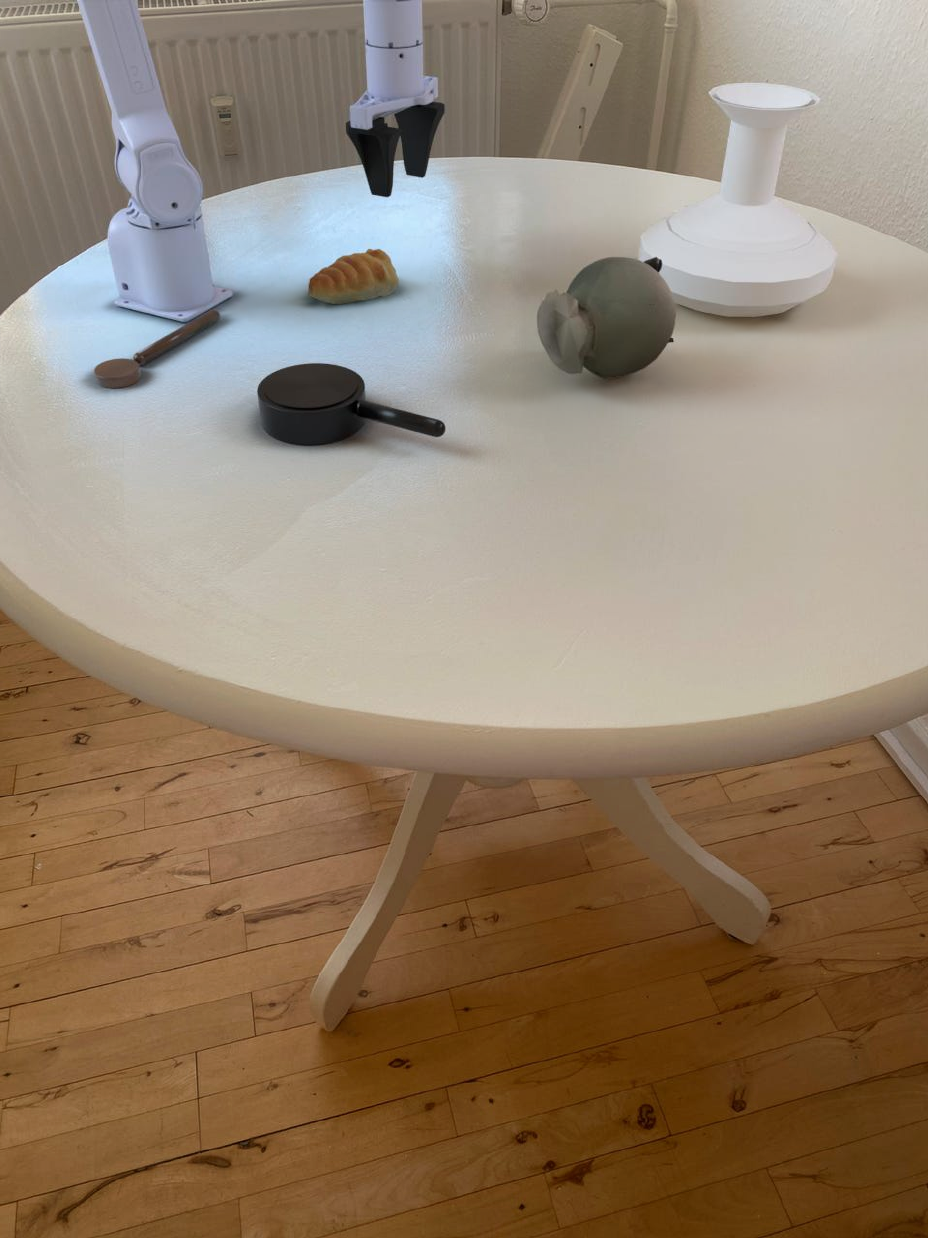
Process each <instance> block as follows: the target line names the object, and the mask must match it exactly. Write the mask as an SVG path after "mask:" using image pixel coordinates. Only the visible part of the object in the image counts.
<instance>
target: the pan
mask: <svg viewBox="0 0 928 1238" xmlns="http://www.w3.org/2000/svg"><path fill="white" fill-rule="evenodd" d="M256 394H257V400H258V401H257V402H258V408H259V415H260V423H261V426H262V429H263V430H264V432H266V434H268V435H269V436H270V437H272V438H274V439H275V440H278V441H280V442H284V443H287V444H292V445H298V446H299V445H300V446H318V445H327V444H331V443H337V442H339V441H342V440H345V439H347V438H349V437H351V436H353V435H355V434H356V433H358V432H359V431H360V430H361V429H363V427H364V426H365V424H366V421H367V420H369V421H373V422H377V423H381V424H385V425H389V426H392V427H396V428H400V429H404V430H408V431H411V432H414V433H417V434H422V435H426V436H430V437H433V438H440V437H442V436H443V435H444V434H445V433H446V424H445V423H444V421H442V420H441V419H437V418H433V417H429V416H426V415H421V414H419V413H414V412H411V411H407V410H402V409H400V408H395V407H392V406H388V405H383V404H380V403H376V402H373V401H369V400H367V397H366V396H367V395H366V384H365V380H364V379H363V377H362V376H361V375H360V374H359V373H358V372H356V371H355V370H352V369H351V368H348V367H346V366H342V365H337V364H333V363H324V362H323V363H322V362H310V363H309V362H308V363H300V364H299V363H298V364H295V365H290V366H286V367H282V368H280V369H277V370H275V371H273V372H271V373H270V374H268V375H266V376H265V377H264V378H263V379H262V380H261V381H260V383H258V386H257V390H256Z"/></svg>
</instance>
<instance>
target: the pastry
mask: <svg viewBox="0 0 928 1238" xmlns="http://www.w3.org/2000/svg"><path fill="white" fill-rule="evenodd" d="M398 276H399V275H398V274H397V270H396V269H395V267H394V266H393V264H392V260H391V257H390V255H388V254H387V253H386V252H385V251H384V250H382V249H380V248H376V249H373V248H367V250H366V251H365V252H356V253H355V252H354V253H352V254H349V255H341V256H340V257H338V258H337V259H336V260H335V261H334V262H333V263H331V264H330V265H329V266H325V267H322V268H321V269H320V270H319V271H318V272H317V273H315V274H314V275H312V276H311V277H310V278H309V282H308V291H307V294H308V296H310V297H311V298H313V299H316V300H318V301H320V302H324V303H327V304H332V305H333V306H334V305H336V304H337V305H343V304H345V303H357V302H362V301H369V300H375V299H377V298H378V297H383V298H384V297H387V296H390V295H391V294H393V293H394V292H396V289H397V288H398V286H399V284H400V282H399V280H400V279H399V277H398Z"/></svg>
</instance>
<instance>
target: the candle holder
mask: <svg viewBox="0 0 928 1238" xmlns="http://www.w3.org/2000/svg"><path fill="white" fill-rule="evenodd" d="M708 94H709V96H710V98H711V99H712V100H713V101H714V102H715V103H716V104H717V106H718V107H719V108H720V109H721V110H722V111H723V112H724V114H726V116H727V117H728V118H729V119H730V123H729V129H728V136H727V141H726V142H727V143H726V147H725V155H724V161H723V167H722V168H723V169H722V173H721V180H720V186H719V192H717V193H715V194H712V195H710V196H707V197H705V198H703V199H700V200H699V201H696V202H694V203H691V204H688V205H686V206H684V207H683V208H680V209H676V210H674V211H672V212H670V214H668V215H667V216H665V217H664V218H662V219H660V220H658V221H656V222H655V223H653V224H652V225H651V226H649V228H647V229H646V230H645V231H644V232H643V233H642V234H641V236H639V243H638V254H637V260H640V261H642V262H644V261H646V260H649V259H652V258H655V257H657V258H658V259H661V260H662V268H661V270H660V272H659V274H660V275H661V276H662V277H663V279H664V280H665V281H666V283H667V284H668V286H669V288H670V290H671V293H672V295H673V299H674V302H675V304H678V305H681V306H683V307H686V308H689V309H691V310H695V311H697V312H701V313H706V314H712V315H717V316H720V317H721V316H722V317H726V318H727V317H728V318H729V317H730V318H731V317H735V318H737V317H738V318H741V317H742V318H746V317H747V318H758V317H765V316H771V315H778V314H782V313H784V312H786V311H789V310H790V309H792V308H795V307H796V306H798V305H801V304H802V303H804V302H806V301H807V300H810V299H812V298H813V297H815V296H817V295H819V294H821V293H823V292H825V291H826V290H827V287H828V286H829V284H830V282H831V281H832V279H833V277H834V271H835V268H836V263H837V259H838V254H839V253H838V252H837V251H836V249H835V248H834V247H833V245H832V243H830V241H829V240H828V239H827V238H826V237H825V236H824V235H823V234H822V233H821V232H820V231H819V230H818V229H817V228H816V227H815V226H814V225H813V224H812V222H810V221H808V220H806V219H805V218H804V217H803V216H802V215H800V214H799V213H797V212H796V211H794V210H793V209H792V208H790V207H789V206H787V205H786V204H784V203H783V202H781V201H780V200H778V198H776V197H775V193H776V189H777V188H776V187H777V183H778V177H779V171H780V168H781V167H780V166H781V162H782V156H783V151H784V146H785V140H786V135H787V130H788V124H790V123H791V122H793V121H794V120H795V119H797V118H798V117H800V116H801V115H803V114H804V113H806V112H807V111H809V110H810V109H812V108H814V107H815V106H816V105H817V104H818V103H819V102H820V101H821V98H820V97H819V96H818V95H817V94H816V93H814V92H811V91H809V90H808V89H804V88H801V87H796V86H790V85H786V84H779V83H769V82H736V83H726V84H722V85H719V86H718V85H717V86H715V87H713V88H711V90H709V91H708Z"/></svg>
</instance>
